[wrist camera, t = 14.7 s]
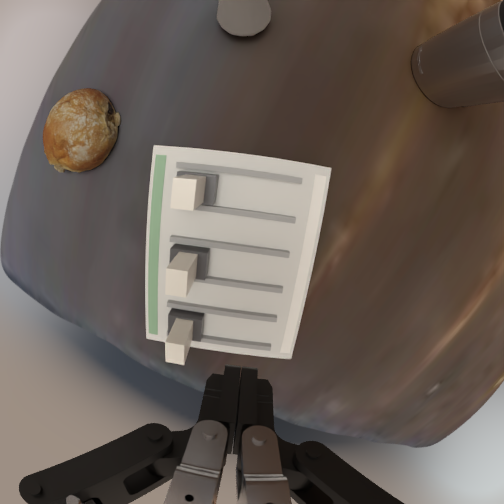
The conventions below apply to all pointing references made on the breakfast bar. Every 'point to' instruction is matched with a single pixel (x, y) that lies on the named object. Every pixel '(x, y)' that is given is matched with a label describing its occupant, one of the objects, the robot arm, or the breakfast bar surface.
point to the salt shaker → (243, 16)
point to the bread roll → (80, 131)
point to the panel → (237, 247)
